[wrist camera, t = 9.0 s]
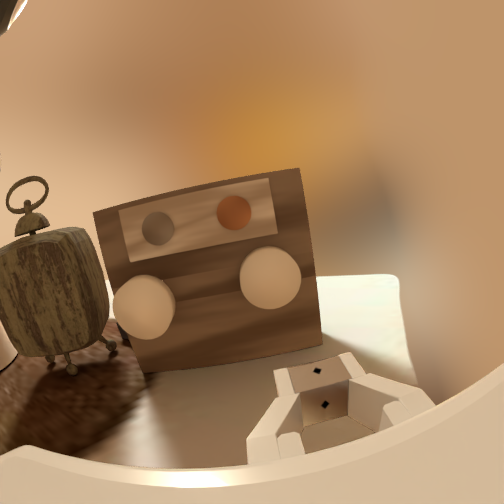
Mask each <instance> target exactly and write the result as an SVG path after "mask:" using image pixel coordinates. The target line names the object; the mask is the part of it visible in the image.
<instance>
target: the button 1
mask: <svg viewBox="0 0 504 504" xmlns="http://www.w3.org/2000/svg"><path fill="white" fill-rule="evenodd" d="M175 308H176V305H175V298H174V296H173V293H172V291H171V290H170V288H169V287H168V286H167V285H166V284H165V283H164V282H163V281H162V280H160V279H158V278H156V277H154V276H150V275H138V276H135V277H133V278H131V279H130V280H129V281H127V282H126V283H125V284H124V285H123V286H122V287H121V288H119V290H118V291H117V292H116V294H115V296H114V299H113V312H114V316H115V318H116V320H117V322H118V324H119V325H120V326H121V327H122V329H123V330H125V331H126V332H127V333H128V334H130V335H132V336H134V337H136V338H139V339H145V340H148V339H154V338H157V337H159V336H161V335H162V334H164V333H165V331H166V330H167V329H168V327H169V325H170V323H171V321H172V318H173V316H174V313H175Z"/></svg>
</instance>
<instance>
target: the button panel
mask: <svg viewBox="0 0 504 504" xmlns="http://www.w3.org/2000/svg"><path fill="white" fill-rule="evenodd" d="M93 216H94V221H95V226H96V231H97V235H98V239H99V244H100V248H101V252H102V256H103V260H104V263H105V267H106V270H107V274H108V278H109V281H110V285H111V288H112V291H113V295H114V296H115V294H116V292H117V291H118V290H119V288H121V287H122V286H123V285H124V284H125V283H126V282H127V281H129V280H130V279H131V278H133V277H135V276H138V275H150V276H154V277H156V278H158V279H160V280H163V282H164V283H165V284H166V285H167V286H168V287H169V288H170V290H171V291H172V293H173V296H174V298H175V305H176V308H175V313H174V316H173V318H172V321H171V323H170V325H169V327H168V329H167V330H166V331H165V333H164V334H162V335H161V336H159V337H157V338H154V339H148V340H145V339H139V338H136V337H134V336H132V335H130V334H128V333H127V332H126V333H127V335H128V338H129V341H130V343H131V346H132V348H133V351H134V353H135V356H136V358H137V360H138V363H139V365H140V368H141V370H142V372H143V373H150V372H162V371H173V370H183V369H191V368H200V367H207V366H214V365H221V364H228V363H234V362H240V361H246V360H252V359H257V358H262V357H268V356H273V355H278V354H282V353H287V352H292V351H296V350H300V349H305V348H309V347H313V346H317V345H321V344H322V332H321V321H320V310H319V300H318V291H317V282H316V274H315V266H314V258H313V251H312V243H311V236H310V229H309V223H308V216H307V209H306V204H305V197H304V191H303V185H302V180H301V174H300V169H299V168H294V169H287V170H281V171H274V172H268V173H261V174H256V175H250V176H244V177H238V178H233V179H228V180H223V181H218V182H213V183H208V184H203V185H198V186H193V187H189V188H184V189H180V190H176V191H171V192H167V193H163V194H159V195H155V196H151V197H147V198H143V199H139V200H135V201H131V202H128V203H124V204H120V205H117V206H113V207H110V208H107V209H103V210H100V211H96V212H93ZM264 246H274V247H278V248H280V249H282V250H284V251H286V252H287V253H288V254H289V255H290V256H291V257H292V258H293V259H294V261H295V262H296V263H297V265H298V267H299V269H300V273H301V284H300V288H299V291H298V293H297V294H296V296H295V297H294V298H293V299H292V300H291V301H290V302H289V303H288V304H286V305H284V306H282V307H280V308H276V309H263V308H259V307H257V306H255V305H253V304H252V303H250V302H249V301H248V300H247V299H246V298H245V296H244V294H243V292H242V290H241V286H240V267H241V264H242V262H243V260H244V259H245V258H246V256H247V255H248V254H249V253H250V252H252V251H253V250H255V249H257V248H260V247H264Z"/></svg>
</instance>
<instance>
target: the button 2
mask: <svg viewBox="0 0 504 504" xmlns="http://www.w3.org/2000/svg"><path fill="white" fill-rule="evenodd" d="M300 284H301V273H300V269H299V267H298V265H297V263H296V262H295V261H294V259H293V258H292V257H291V256H290V255H289V254H288V253H287V252H286V251H284V250H282V249H280V248H278V247H274V246H264V247H260V248H257V249H255V250H253V251H252V252H250V253H249V254H248V255H247V256H246V258H245V259H244V260H243V262H242V264H241V267H240V286H241V290H242V292H243V294H244V296H245V298H246V299H247V300H248V301H249V302H250V303H252V304H253V305H255V306H257V307H259V308H263V309H276V308H280V307H282V306H284V305H286V304H288V303H289V302H290V301H291V300H292V299H293V298H294V297H295V296H296V294H297V293H298V291H299V288H300Z"/></svg>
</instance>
